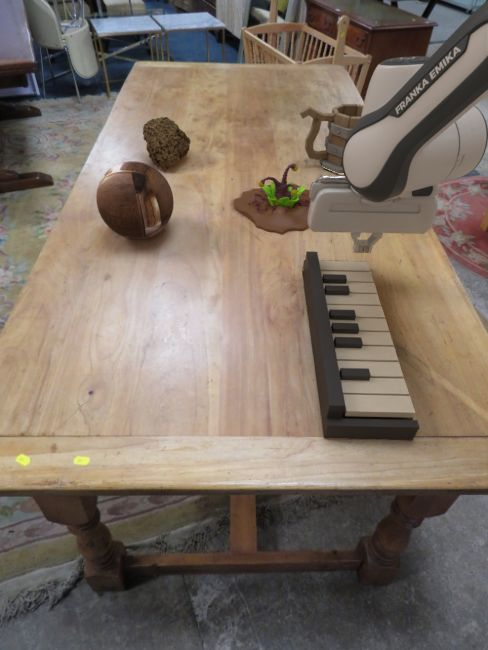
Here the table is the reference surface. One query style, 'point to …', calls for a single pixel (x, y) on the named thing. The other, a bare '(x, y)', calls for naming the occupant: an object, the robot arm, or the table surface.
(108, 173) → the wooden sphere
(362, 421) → the keyboard
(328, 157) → the tankard
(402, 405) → the white piano key
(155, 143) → the brown porous lump
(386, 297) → the table surface
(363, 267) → the low key
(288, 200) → the plant
